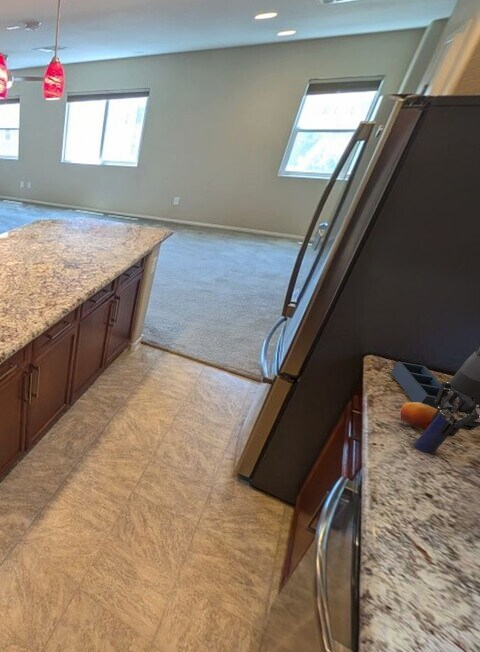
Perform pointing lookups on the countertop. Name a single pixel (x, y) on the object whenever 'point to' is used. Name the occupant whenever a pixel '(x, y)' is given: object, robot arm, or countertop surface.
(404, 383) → the rack
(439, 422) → the thermos
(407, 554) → the countertop surface
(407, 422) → the fruit
